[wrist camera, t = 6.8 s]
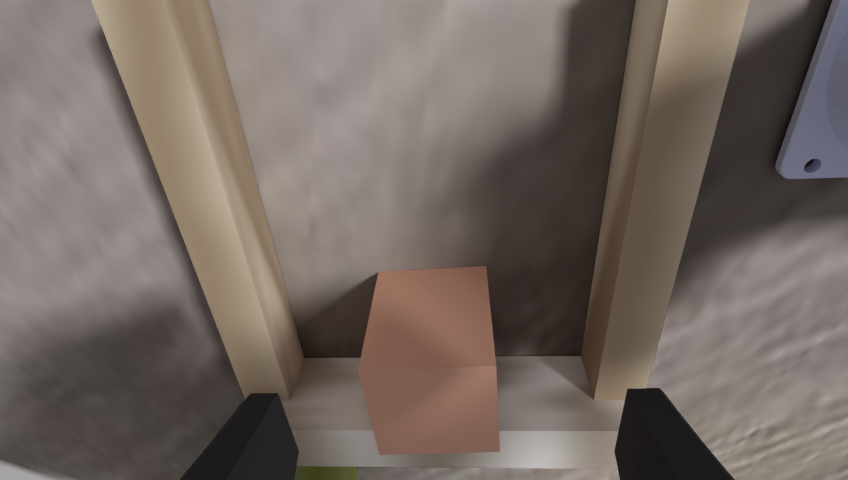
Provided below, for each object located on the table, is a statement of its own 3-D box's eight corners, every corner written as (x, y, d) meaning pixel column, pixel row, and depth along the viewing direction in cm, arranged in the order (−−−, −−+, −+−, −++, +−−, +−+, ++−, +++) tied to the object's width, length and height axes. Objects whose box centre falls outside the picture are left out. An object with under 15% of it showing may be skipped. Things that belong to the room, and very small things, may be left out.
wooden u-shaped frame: (715, -49, 14) (798, -40, 11) (617, 392, 24) (644, 469, 21) (140, -12, 15) (53, 8, 12) (275, 393, 25) (248, 465, 22)
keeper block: (485, 265, 20) (495, 365, 16) (490, 344, 23) (500, 451, 18) (378, 271, 21) (357, 371, 16) (393, 348, 23) (379, 455, 19)
